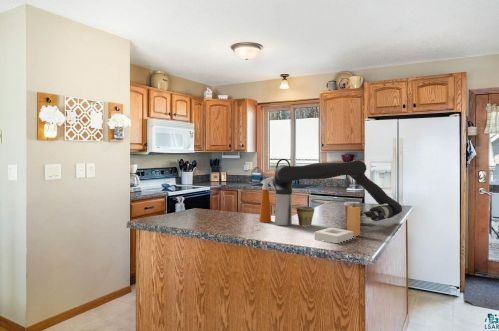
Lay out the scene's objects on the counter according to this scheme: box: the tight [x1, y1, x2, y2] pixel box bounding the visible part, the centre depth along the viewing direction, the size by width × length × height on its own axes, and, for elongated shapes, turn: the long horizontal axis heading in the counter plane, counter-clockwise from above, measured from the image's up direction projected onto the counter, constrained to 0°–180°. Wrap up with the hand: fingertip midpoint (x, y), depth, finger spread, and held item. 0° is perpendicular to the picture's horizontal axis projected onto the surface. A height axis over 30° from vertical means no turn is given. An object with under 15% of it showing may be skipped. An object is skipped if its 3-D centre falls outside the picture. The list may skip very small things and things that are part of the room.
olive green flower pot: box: [295, 205, 316, 228], centre depth 194 cm, size 13×10×10 cm
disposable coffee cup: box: [343, 200, 362, 222], centre depth 200 cm, size 10×10×12 cm
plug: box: [346, 203, 361, 237], centre depth 169 cm, size 4×4×16 cm
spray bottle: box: [258, 176, 276, 223], centre depth 202 cm, size 7×11×26 cm, turn 57°
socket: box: [314, 226, 354, 244], centre depth 163 cm, size 14×12×4 cm
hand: (364, 216), depth 176 cm, fingers open, 8 cm apart
